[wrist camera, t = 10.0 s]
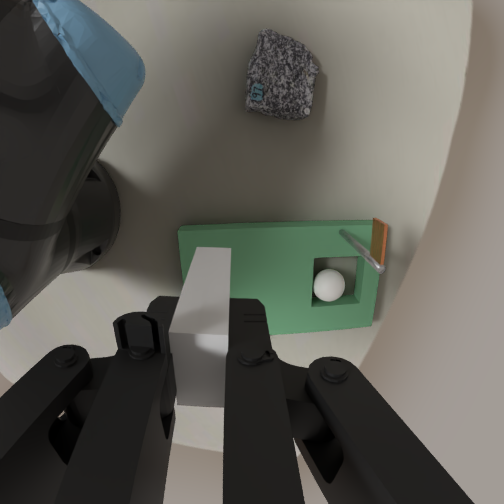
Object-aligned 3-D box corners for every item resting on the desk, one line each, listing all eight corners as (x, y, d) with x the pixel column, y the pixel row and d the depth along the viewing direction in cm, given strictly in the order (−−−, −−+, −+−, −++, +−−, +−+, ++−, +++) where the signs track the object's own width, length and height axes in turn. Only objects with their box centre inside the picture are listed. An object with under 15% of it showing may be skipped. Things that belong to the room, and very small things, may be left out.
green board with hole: (192, 326, 41) (190, 337, 39) (181, 225, 36) (177, 231, 34) (365, 316, 42) (371, 326, 39) (376, 219, 37) (384, 225, 35)
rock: (321, 49, 30) (330, 39, 26) (303, 126, 33) (311, 124, 29) (257, 33, 29) (260, 20, 25) (237, 111, 33) (237, 106, 29)
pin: (338, 235, 35) (376, 273, 25) (340, 199, 34) (381, 224, 23) (345, 235, 35) (384, 273, 25) (346, 199, 34) (390, 224, 23)
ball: (318, 292, 41) (308, 304, 37) (318, 263, 40) (307, 273, 36) (347, 295, 39) (340, 308, 35) (348, 266, 38) (340, 276, 34)
